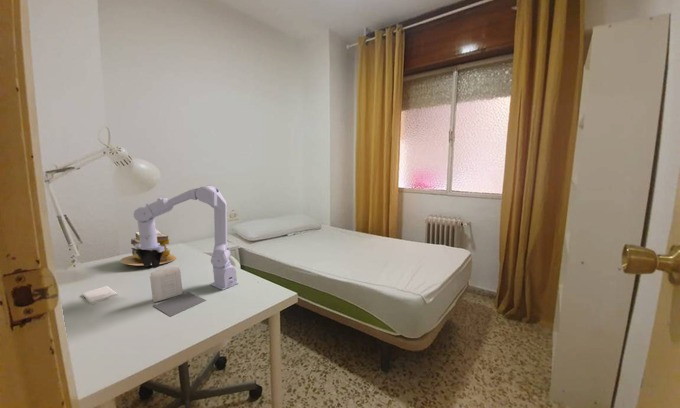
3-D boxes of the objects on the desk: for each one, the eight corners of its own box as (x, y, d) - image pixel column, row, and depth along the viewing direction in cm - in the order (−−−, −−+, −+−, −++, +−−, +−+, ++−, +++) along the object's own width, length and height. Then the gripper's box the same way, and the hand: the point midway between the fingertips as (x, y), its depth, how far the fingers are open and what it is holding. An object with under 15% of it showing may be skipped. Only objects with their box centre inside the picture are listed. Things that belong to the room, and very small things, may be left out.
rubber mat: (206, 300, 102) (206, 299, 102) (170, 316, 91) (170, 316, 91) (188, 292, 109) (188, 291, 109) (153, 306, 98) (153, 305, 98)
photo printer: (181, 291, 110) (178, 262, 109) (184, 294, 107) (180, 265, 106) (152, 300, 103) (147, 269, 102) (154, 303, 100) (149, 272, 98)
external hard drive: (108, 289, 114) (118, 296, 107) (82, 296, 107) (91, 305, 100) (107, 285, 114) (117, 292, 107) (81, 293, 107) (90, 301, 100)
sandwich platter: (172, 251, 162) (169, 225, 160) (179, 262, 143) (176, 233, 141) (120, 261, 146) (116, 232, 144) (121, 275, 127) (117, 241, 125)
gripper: (170, 234, 109) (173, 265, 111) (145, 231, 114) (149, 261, 116) (153, 238, 103) (157, 271, 105) (128, 235, 107) (132, 267, 109)
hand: (151, 266), depth 110 cm, fingers open, 4 cm apart
